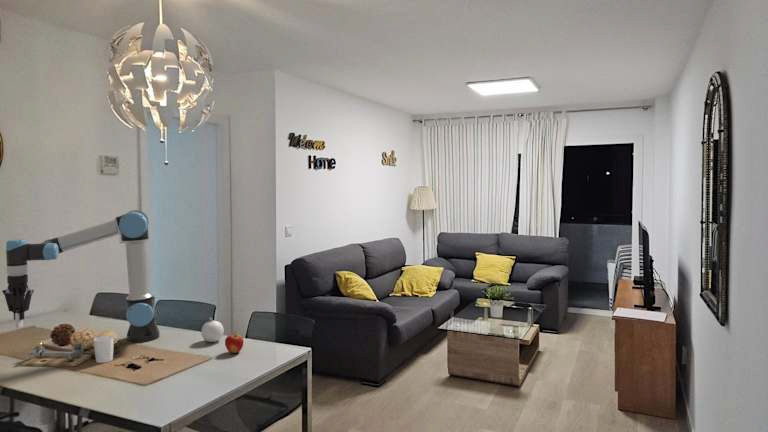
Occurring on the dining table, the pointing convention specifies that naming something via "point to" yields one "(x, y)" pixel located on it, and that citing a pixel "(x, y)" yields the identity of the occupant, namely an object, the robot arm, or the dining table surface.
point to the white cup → (104, 348)
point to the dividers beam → (65, 353)
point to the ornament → (212, 331)
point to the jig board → (55, 361)
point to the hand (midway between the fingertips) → (19, 326)
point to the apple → (234, 343)
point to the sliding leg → (36, 350)
